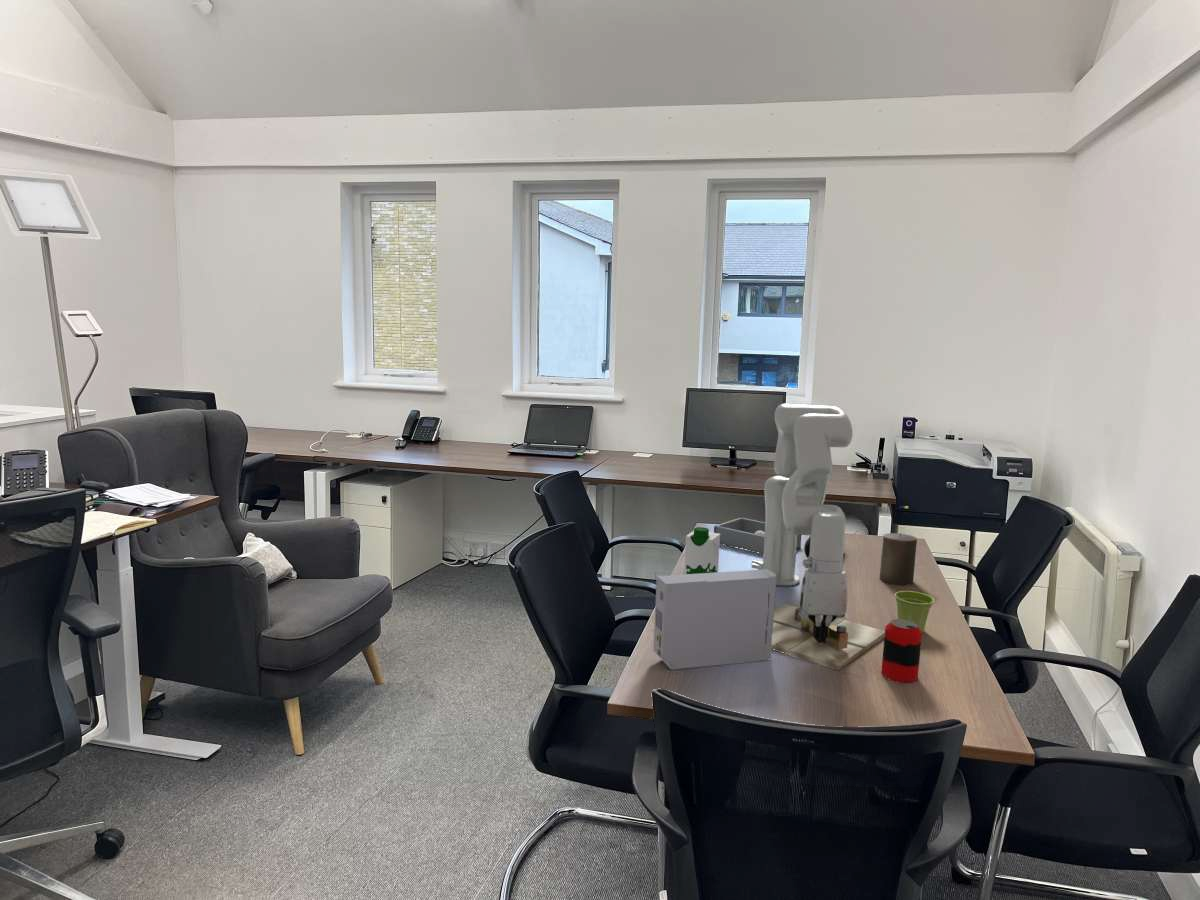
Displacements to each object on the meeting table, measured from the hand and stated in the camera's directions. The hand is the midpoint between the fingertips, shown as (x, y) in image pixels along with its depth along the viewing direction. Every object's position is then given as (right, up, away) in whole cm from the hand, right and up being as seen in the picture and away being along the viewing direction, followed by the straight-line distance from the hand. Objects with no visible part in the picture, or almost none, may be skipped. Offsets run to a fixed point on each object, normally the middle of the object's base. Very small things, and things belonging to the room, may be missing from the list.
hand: (819, 640), depth 191 cm
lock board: (0, -1, +10) cm, 10 cm away
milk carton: (-24, +3, +36) cm, 43 cm away
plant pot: (+28, -1, +17) cm, 32 cm away
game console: (-26, -3, -6) cm, 27 cm away
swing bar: (+2, 0, +5) cm, 5 cm away
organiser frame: (+3, +12, +91) cm, 92 cm away
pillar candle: (+38, +5, +57) cm, 69 cm away
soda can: (+14, -5, -11) cm, 19 cm away
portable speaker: (+23, +9, +80) cm, 84 cm away
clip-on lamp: (+2, +11, +89) cm, 90 cm away
